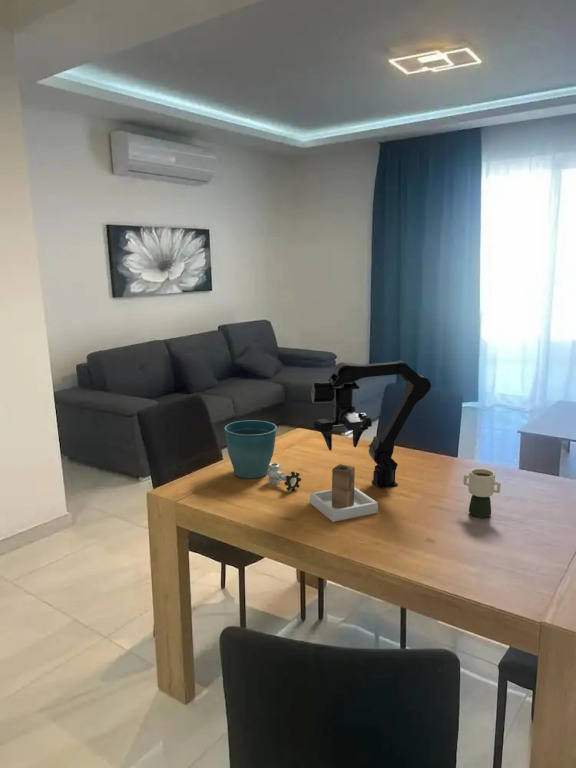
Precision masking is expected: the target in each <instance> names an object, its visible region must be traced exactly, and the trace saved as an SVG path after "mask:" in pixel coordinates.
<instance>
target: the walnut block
mask: <svg viewBox="0 0 576 768" xmlns="http://www.w3.org/2000/svg"><path fill="white" fill-rule="evenodd" d="M355 470H356V469H355V466H352V465H346V464H341V463H339V464H338V465H336V466H335V467H333V468H332V470H331V473H332V474H331V484H332V485H331V489H332V507H334V508H339V509H341V508H346V507H351V506H353V505H354V487H355V475H356V474H355Z"/></svg>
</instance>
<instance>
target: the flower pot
mask: <svg viewBox="0 0 576 768" xmlns="http://www.w3.org/2000/svg"><path fill="white" fill-rule="evenodd" d="M277 429H278V426H277V425H276V424H275V423H272V422H269V421H265V420H257V419H256V420H255V419H253V420H252V419H251V420H248V419H247V420H246V419H245V420H239V421H234V422H231V423H227V425H225V426H224V431H225V437H226V438H225V440H226V442H225V443H226V449H227V453H228V456H229V459H230V463H231V465H232V468H233V474H234V475H235V476H236V477H238V478H241V479H259V478H262V477H265V476H266V475H268V471H269V466H268V465H269V464H270V463H271V460H272V458H273V456H274V452H275V446H276V445H275V444H276V437H277V436H276V435H277Z"/></svg>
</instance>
